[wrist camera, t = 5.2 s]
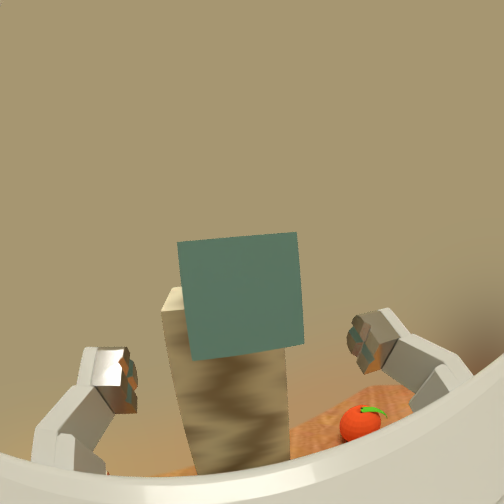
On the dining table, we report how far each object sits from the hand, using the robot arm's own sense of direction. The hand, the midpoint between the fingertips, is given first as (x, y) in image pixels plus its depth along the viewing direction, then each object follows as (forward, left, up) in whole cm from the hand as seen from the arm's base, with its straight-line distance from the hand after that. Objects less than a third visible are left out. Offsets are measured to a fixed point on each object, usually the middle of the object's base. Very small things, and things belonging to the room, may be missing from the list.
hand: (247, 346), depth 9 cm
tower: (0, +15, -30) cm, 34 cm away
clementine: (+21, +23, -31) cm, 44 cm away
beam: (0, +11, 0) cm, 11 cm away
